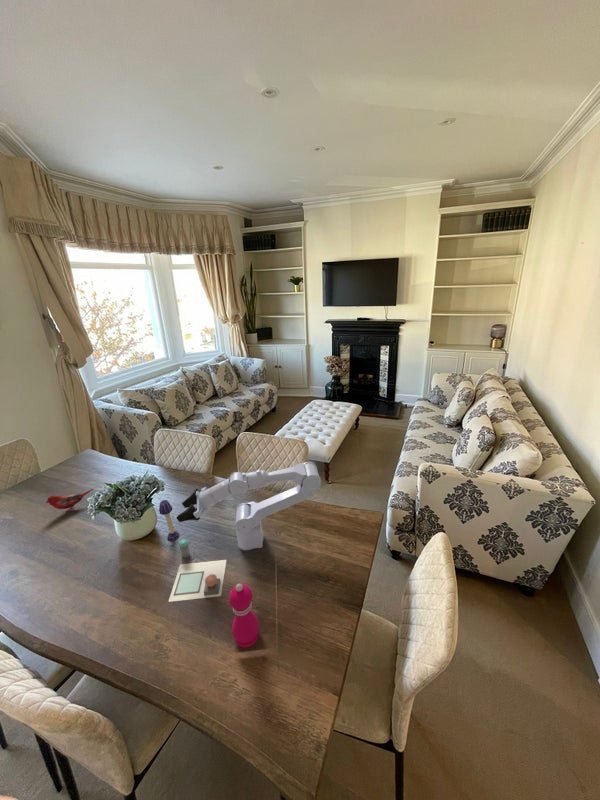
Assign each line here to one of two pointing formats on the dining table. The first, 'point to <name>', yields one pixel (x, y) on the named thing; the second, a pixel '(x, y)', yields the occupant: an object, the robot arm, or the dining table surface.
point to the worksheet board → (197, 580)
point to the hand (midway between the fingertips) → (180, 512)
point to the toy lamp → (168, 519)
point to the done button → (211, 580)
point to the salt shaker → (184, 548)
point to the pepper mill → (243, 616)
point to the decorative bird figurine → (66, 501)
